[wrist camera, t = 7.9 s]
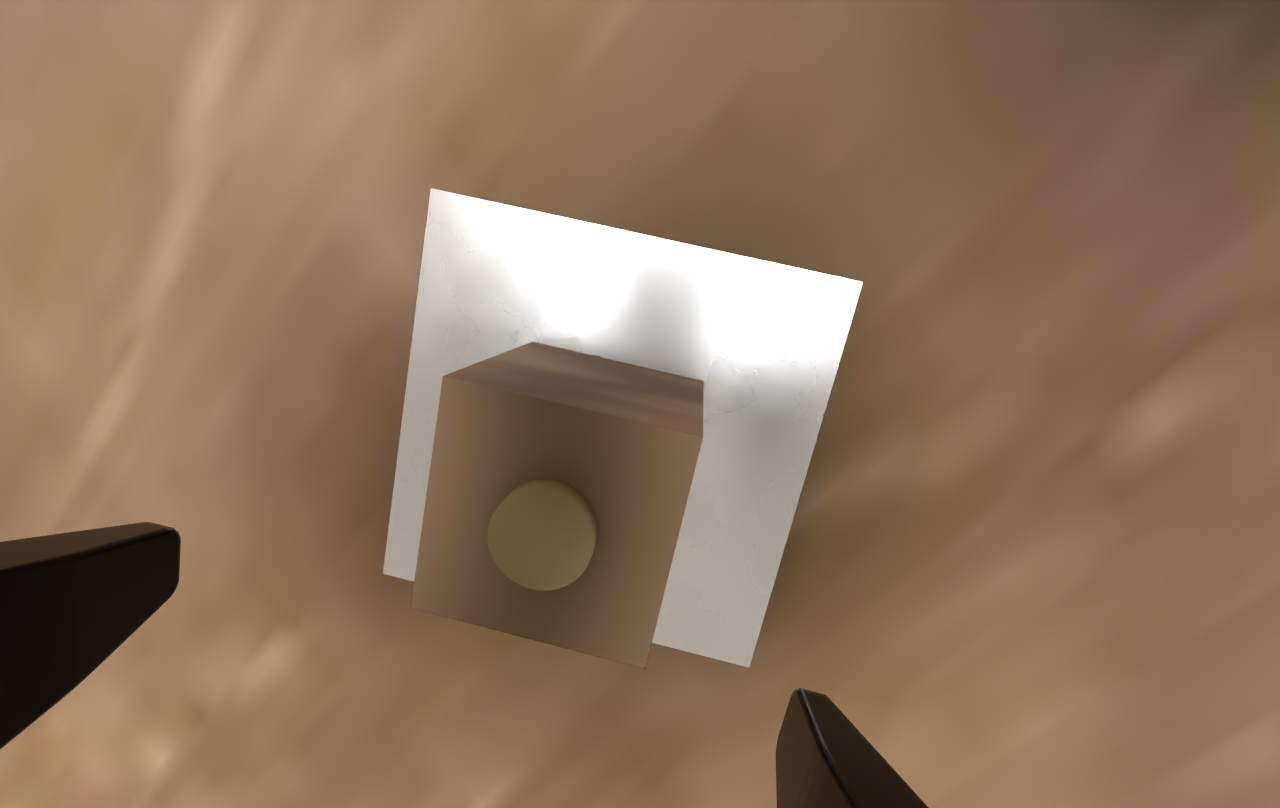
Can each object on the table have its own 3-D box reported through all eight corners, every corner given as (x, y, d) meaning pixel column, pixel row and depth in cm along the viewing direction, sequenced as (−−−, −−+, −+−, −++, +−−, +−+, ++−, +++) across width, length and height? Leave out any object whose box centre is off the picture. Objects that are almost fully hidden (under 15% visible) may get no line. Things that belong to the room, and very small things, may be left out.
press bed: (849, 281, 17) (863, 282, 16) (745, 638, 20) (749, 667, 18) (453, 195, 18) (431, 187, 16) (405, 552, 21) (382, 573, 19)
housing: (703, 380, 17) (703, 446, 10) (664, 540, 18) (642, 689, 11) (532, 341, 17) (428, 381, 11) (504, 501, 18) (396, 625, 12)
